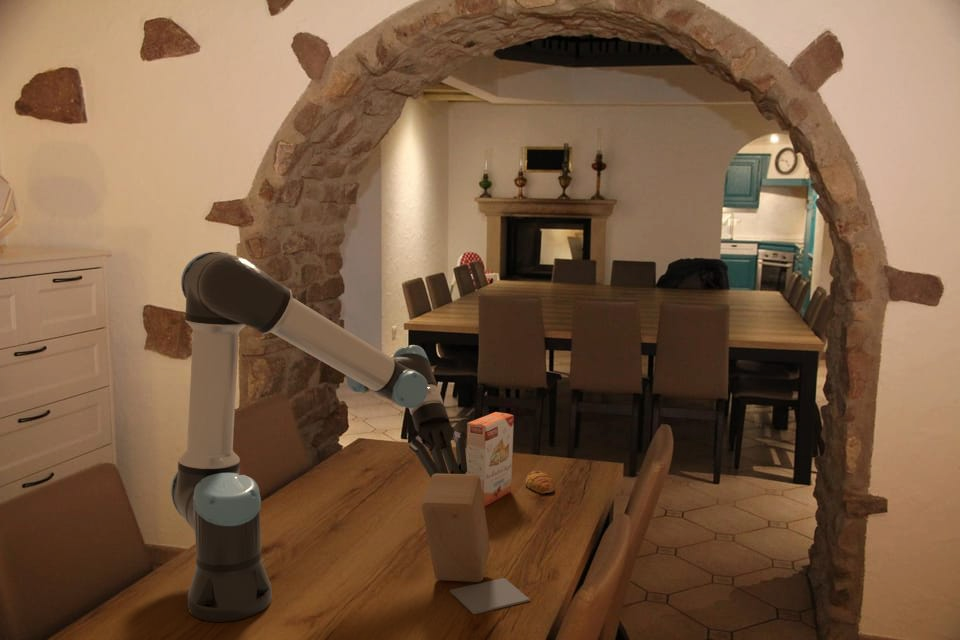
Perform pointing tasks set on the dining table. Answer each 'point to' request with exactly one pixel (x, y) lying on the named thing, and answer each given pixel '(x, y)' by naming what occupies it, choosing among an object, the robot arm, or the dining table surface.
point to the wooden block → (456, 527)
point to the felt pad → (489, 595)
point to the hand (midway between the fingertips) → (461, 508)
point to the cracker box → (491, 454)
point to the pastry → (539, 482)
